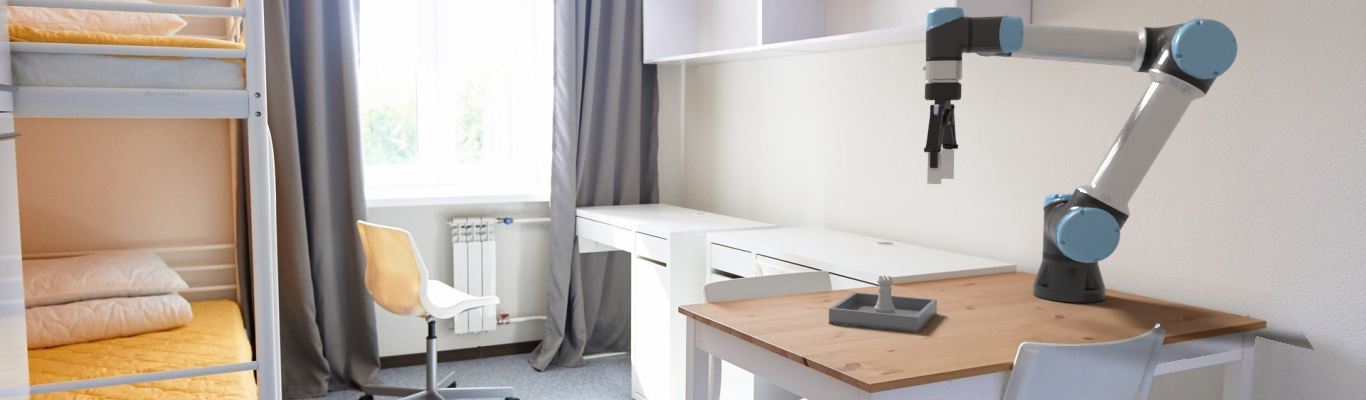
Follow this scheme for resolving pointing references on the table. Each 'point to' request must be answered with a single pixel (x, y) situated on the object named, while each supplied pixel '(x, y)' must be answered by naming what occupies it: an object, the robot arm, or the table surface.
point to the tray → (862, 313)
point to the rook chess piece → (885, 296)
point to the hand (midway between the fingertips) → (940, 181)
